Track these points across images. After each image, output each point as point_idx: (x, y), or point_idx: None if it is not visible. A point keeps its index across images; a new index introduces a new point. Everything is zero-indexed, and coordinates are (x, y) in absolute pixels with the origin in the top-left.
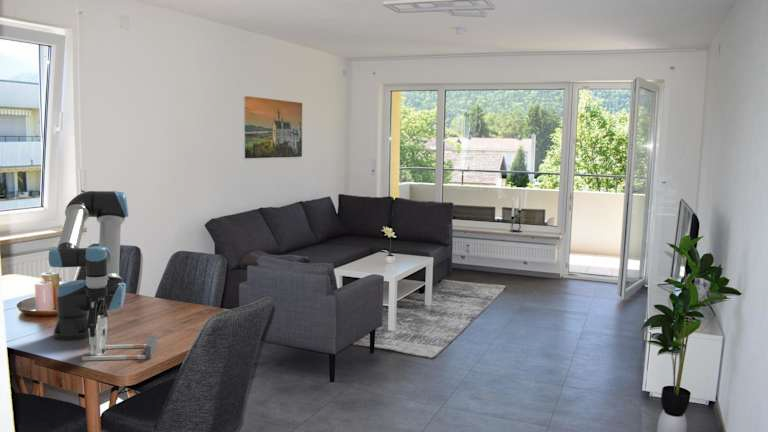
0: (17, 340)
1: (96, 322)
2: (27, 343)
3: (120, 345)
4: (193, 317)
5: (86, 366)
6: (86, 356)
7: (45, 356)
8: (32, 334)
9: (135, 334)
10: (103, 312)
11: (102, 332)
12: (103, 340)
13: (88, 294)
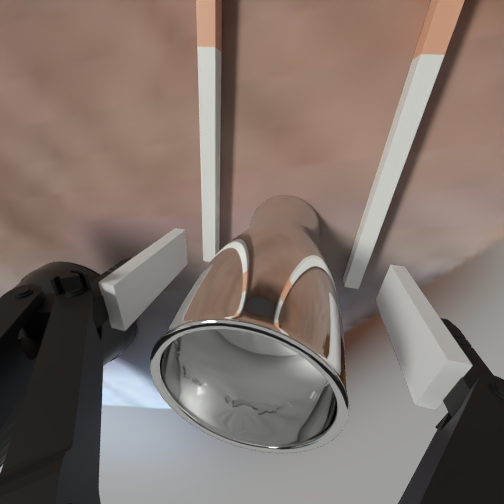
0: (144, 402)
1: (482, 427)
2: None
3: (214, 134)
4: None
5: (451, 264)
6: (350, 275)
7: None
8: None
9: (17, 84)
10: (85, 350)
11: (326, 265)
12: (306, 232)
13: None
